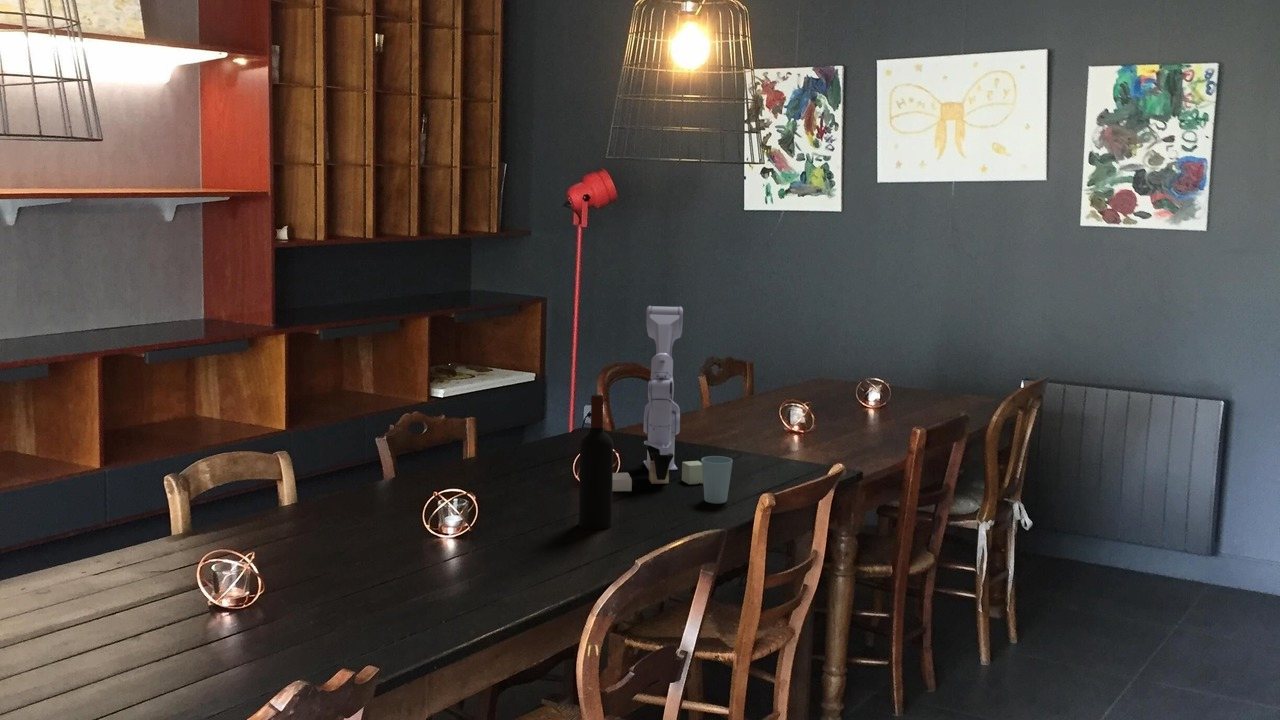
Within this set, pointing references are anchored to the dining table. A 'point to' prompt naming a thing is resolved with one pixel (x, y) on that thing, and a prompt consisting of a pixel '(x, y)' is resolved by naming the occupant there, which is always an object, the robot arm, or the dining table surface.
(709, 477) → the cup
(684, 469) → the sage block
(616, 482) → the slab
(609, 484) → the wine bottle
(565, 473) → the dining table surface
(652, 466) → the oak block
